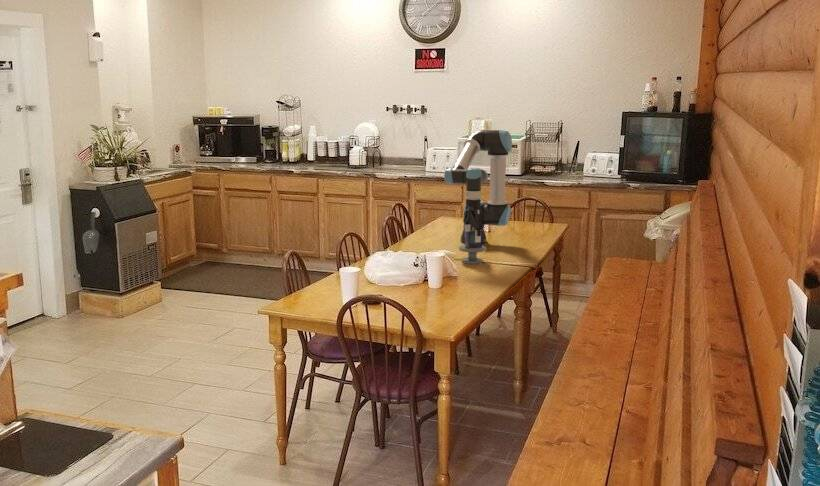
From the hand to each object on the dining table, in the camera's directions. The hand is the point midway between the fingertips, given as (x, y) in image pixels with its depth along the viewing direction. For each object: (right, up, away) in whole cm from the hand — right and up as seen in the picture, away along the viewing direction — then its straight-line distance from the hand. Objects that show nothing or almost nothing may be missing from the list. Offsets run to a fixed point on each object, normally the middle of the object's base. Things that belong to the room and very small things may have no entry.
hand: (472, 239), depth 379 cm
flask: (0, -4, +1) cm, 4 cm away
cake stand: (0, -11, +2) cm, 12 cm away
